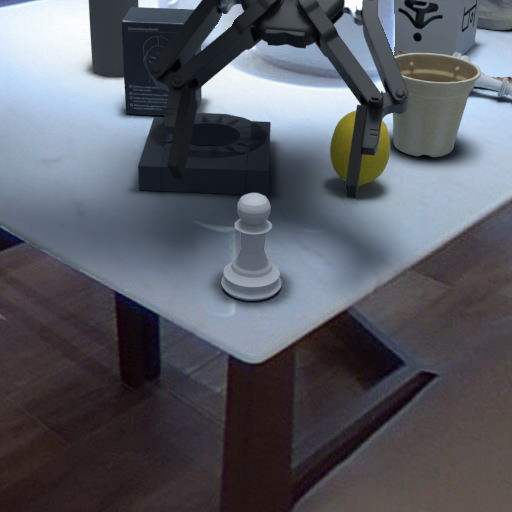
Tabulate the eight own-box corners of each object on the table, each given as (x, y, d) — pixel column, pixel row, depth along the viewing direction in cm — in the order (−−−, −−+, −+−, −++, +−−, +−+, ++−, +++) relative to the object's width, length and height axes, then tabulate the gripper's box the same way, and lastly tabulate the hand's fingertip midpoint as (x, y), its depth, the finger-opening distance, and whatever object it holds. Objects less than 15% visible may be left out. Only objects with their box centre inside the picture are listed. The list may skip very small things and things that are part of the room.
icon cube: (485, -30, 126) (474, 44, 131) (412, -40, 130) (404, 32, 135) (463, -13, 118) (452, 65, 123) (387, -25, 122) (379, 52, 127)
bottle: (83, 67, 118) (75, -58, 110) (121, 58, 121) (117, -64, 114) (110, 80, 114) (104, -49, 107) (150, 70, 118) (146, -55, 110)
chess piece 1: (286, 300, 73) (291, 207, 69) (224, 303, 73) (226, 210, 69) (275, 268, 77) (280, 179, 73) (217, 271, 77) (219, 181, 73)
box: (201, 100, 109) (202, 8, 104) (195, 118, 105) (195, 23, 99) (133, 96, 110) (130, 4, 105) (124, 114, 105) (120, 19, 100)
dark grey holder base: (138, 190, 89) (138, 165, 88) (156, 133, 101) (155, 110, 100) (267, 195, 89) (268, 171, 88) (270, 137, 101) (271, 115, 100)
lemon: (350, 205, 88) (358, 123, 84) (315, 182, 92) (321, 103, 88) (397, 192, 90) (407, 112, 86) (361, 170, 94) (369, 93, 90)
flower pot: (394, 122, 105) (403, 46, 101) (478, 140, 102) (491, 61, 98) (364, 153, 98) (372, 72, 94) (454, 172, 95) (466, 89, 90)
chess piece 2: (442, 93, 116) (522, 120, 113) (441, 77, 112) (524, 105, 109) (455, 61, 116) (535, 87, 114) (456, 45, 112) (539, 71, 109)
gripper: (454, -25, 80) (424, 216, 74) (164, -47, 84) (117, 181, 78) (461, -79, 73) (429, 183, 67) (145, -101, 76) (91, 146, 71)
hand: (261, 182), depth 73 cm, fingers open, 13 cm apart
